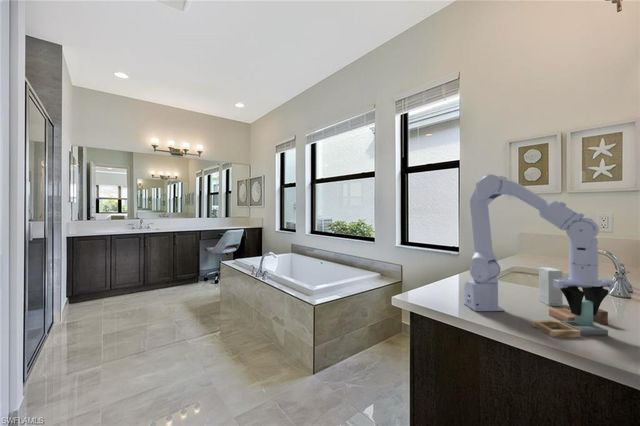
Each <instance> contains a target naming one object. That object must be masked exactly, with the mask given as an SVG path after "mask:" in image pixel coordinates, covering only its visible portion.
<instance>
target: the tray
mask: <svg viewBox="0 0 640 426" xmlns="http://www.w3.org/2000/svg"><path fill="white" fill-rule="evenodd" d="M560 322H562V323H564V324H566V325H568V326H571V327H573V328H575V329H577V330H579V331H580V337H608V336H609V330H608V329H607V328H605V327H602V326H600V325H598V324H596V323H595V324H594V323H593V326H583V325H579V324H577V323H575V321H560Z"/></svg>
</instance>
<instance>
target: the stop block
mask: <svg viewBox="0 0 640 426" xmlns="http://www.w3.org/2000/svg"><path fill="white" fill-rule="evenodd" d="M593 323H595V324H596V323H597V324H598V325H608V324H609V311H606V310H604V309H602V308H599V309H598V311H597V314H596V315H593Z"/></svg>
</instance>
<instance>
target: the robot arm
mask: <svg viewBox="0 0 640 426" xmlns="http://www.w3.org/2000/svg"><path fill="white" fill-rule="evenodd" d="M502 195H507V196H513V197H515V198H517V199H519V200H521V201H522V202H524V203H526V204H528V205H529V206H531V207H533V208H534V209H536V210H538V213H539V216H540V217H541V218H542V219H543V220H545V221H546V222H548V223H550V224H551V225H553V226H555V227H556V228H558V229H559V230H561V231H565V233H566V235H567V236H568V237H569V245H568V273H569V274H568V277H565V278H562V279H556V280H553V287H556V288H560V289H561V291H562V295H564V297H565V299H566V301H567V304H568V306H569V310H571V313H573V314H575V315H577V316H580V315H581V306H582V300H588V301H591V302H593V315H596V314H597V311H598V309H600V305H601V303H602V302H603V300H605V298H606V297H607V296H608V295H609V290H608V289H606V288H609V289H614V288H615V280H614V279H609V278H599V247H598V245H599V244H598V243H599V242H598V238H597V236H598V235H599V233H600V227H599V225H598V224H597V222H596V221H594V219H592V218H587V217H585V214H583V213H582V212H580V213H579V212H576V211H575V210H573V209H571V208H569V207H567V203H566V202H564V201H560V202H559V201H557V200H551V201H550V200H549V201H547V200H546V199H544V198H543V197H541V196H540V195H538V194H536V193H535V192H533V191H532V190H530V189H528V188H527V187H525V186H524V185H522V184H520V183H519V182H517V181H515V180H512V179H509V178H507V177H506V176H503V175H495V174H491V173H490V174H485V175H484V176H482V177H481V178H480V179H479V180H478V181H477V182H475V189H474V191H473V193H472V195H471V197H470V200H469V208H470V216H471V226H472V238H473V247H474V248H473V249H474V253H473V255H472V257H471V265H470V267H469V274H470V276H471V278H472V280H468V281H466V282H465V283H464V301H463V304H464V305H466V306H467V307H469V308H470V309H472V311H474V312H505V308H503V307H501V306H499V281H498V280H499V279H498V276H499V275H500V273H501V266H500V264H499V263H498V260H497V256H496V254H495V253H494V252H493V242H492V241H493V240H492V233H491V232H492V231H491V223H490V222H491V221H490V212H489V205H490V204H491V203H492V202H493V201H494V200H495V199H497V198H498V197H500V196H502ZM580 288H581V289H582V290H580Z"/></svg>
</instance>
